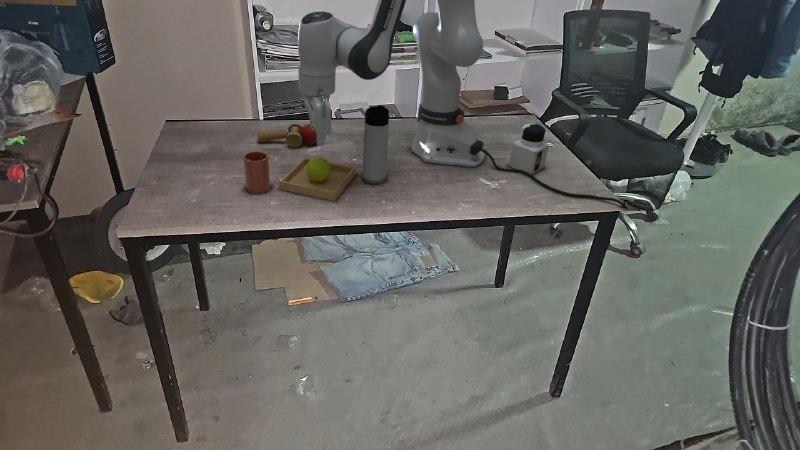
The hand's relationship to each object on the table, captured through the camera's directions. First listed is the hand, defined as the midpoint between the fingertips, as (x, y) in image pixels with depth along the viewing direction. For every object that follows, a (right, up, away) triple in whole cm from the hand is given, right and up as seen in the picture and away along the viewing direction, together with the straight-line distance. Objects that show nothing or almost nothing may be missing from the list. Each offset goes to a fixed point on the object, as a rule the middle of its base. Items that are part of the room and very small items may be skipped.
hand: (317, 136), depth 143 cm
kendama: (-12, +2, +27) cm, 30 cm away
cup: (-16, -13, +3) cm, 20 cm away
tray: (-1, -11, +7) cm, 13 cm away
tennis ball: (0, -8, +5) cm, 10 cm away
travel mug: (+14, -10, +11) cm, 21 cm away
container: (+58, -6, +24) cm, 63 cm away
